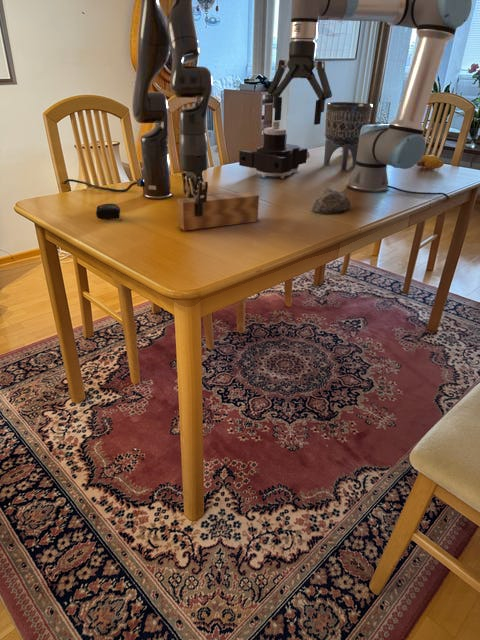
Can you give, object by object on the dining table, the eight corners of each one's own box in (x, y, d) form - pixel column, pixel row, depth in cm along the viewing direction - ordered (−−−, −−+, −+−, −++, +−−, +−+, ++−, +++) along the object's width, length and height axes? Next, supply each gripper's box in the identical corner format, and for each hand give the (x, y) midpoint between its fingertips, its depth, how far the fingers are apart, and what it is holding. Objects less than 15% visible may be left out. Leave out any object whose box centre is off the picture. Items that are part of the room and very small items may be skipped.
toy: (418, 162, 205) (412, 155, 217) (420, 176, 207) (414, 168, 220) (444, 154, 201) (436, 147, 214) (446, 168, 204) (438, 161, 217)
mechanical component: (240, 120, 182) (283, 115, 202) (239, 174, 192) (280, 164, 212) (283, 126, 170) (325, 120, 190) (280, 183, 180) (320, 171, 200)
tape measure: (96, 222, 135) (94, 209, 133) (99, 215, 140) (97, 203, 139) (120, 221, 136) (118, 209, 134) (121, 214, 141) (120, 202, 139)
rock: (335, 203, 156) (338, 184, 153) (355, 209, 151) (359, 189, 148) (309, 210, 149) (311, 190, 145) (329, 217, 143) (332, 196, 140)
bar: (250, 217, 142) (251, 191, 138) (257, 221, 139) (259, 195, 135) (178, 225, 132) (177, 198, 128) (183, 230, 129) (183, 203, 125)
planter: (313, 167, 208) (319, 103, 195) (331, 160, 222) (338, 101, 209) (353, 173, 199) (362, 107, 185) (369, 166, 213) (379, 104, 199)
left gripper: (171, 147, 126) (174, 208, 134) (190, 157, 115) (192, 222, 123) (196, 146, 129) (198, 205, 137) (217, 155, 118) (217, 218, 126)
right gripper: (258, 40, 131) (255, 119, 142) (338, 40, 119) (329, 127, 130) (271, 41, 136) (268, 117, 147) (349, 41, 125) (339, 124, 135)
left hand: (195, 213), depth 130 cm, fingers open, 4 cm apart
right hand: (296, 122), depth 139 cm, fingers open, 13 cm apart
